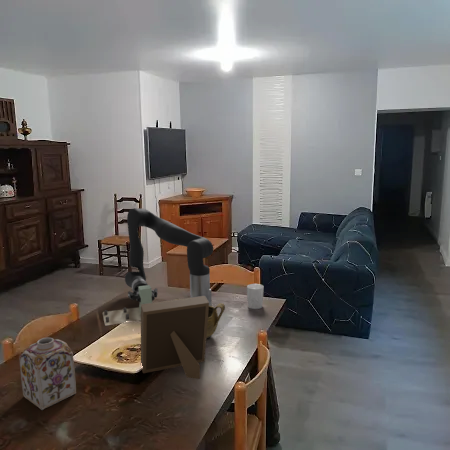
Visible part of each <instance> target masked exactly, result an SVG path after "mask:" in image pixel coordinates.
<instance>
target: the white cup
mask: <svg viewBox="0 0 450 450" xmlns="http://www.w3.org/2000/svg"><path fill="white" fill-rule="evenodd" d="M246 295H247V296H246V297H247V299H246V300H247V307H248V308H249V309H253V310H258V309H262V308H263V301H264V285H263V284H259V283H251V284H248V285H246Z"/></svg>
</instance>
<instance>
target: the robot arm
mask: <svg viewBox="0 0 450 450" xmlns="http://www.w3.org/2000/svg"><path fill="white" fill-rule="evenodd" d="M126 217H127V218H126V220H127V221H126V222H127V230H128V240H129V241H128V242H129V259H128V260H129V262H128V264H129V266H130V267H132V268H136V269H138V271H128V272H127V273H125V275H124V282H125V285H127V286H128V287H129V288H131V290H132V291H128V292H127V297H128V298H129V299H130V300H132V301H135V300H136V301H137V302H138V303H139V302H141V298H140V296H139V287H138V286H146V285H149V284H148V282H147V276H146V272H145V269H144V268H145V267H144V258H145V255H144V254H145V253H144V251H145V250H144V247H143V244H142V241H141V239H140V237H139V227H143V228H148V229H151V230H153V231H154V232H155V234H156V236H157V237H158V238H159V239H161V240H162V241H164V242H166V243H168V244H171V245H175V246H176V245H177V246H183V247H186V257H187V268H188V270H189V293H190V294H189V295H190V297H189V298H192V297H199V296H205V297H206V298H207V300H208V302H209V306H212V304H213V303H212V302H213V301H212V289H211V282H210V281H211V276H210V275H211V274H210V270H211V269H210V267H209V266H208V265H206V264H204V259H206V258H208V257H210V256H211V255H212V254H213V253H214V245H213V242H211V240H210V239H208V238H206V237H204V236H200V235H197V234H195V233H192V232H190V231H188V230H186V229H184V228H182V227H180V226H178V225H177V224H174V223H173V222H170V221H168V220H166V219H164V218H161V217H159V216H157V215H155V214H154V213H153V212H152V211H150V210H149V209H147V208H140V207H139V208H137V207H136V208H130V209H129V211H128V213H127V216H126ZM155 298H156V299H157V298H158V288H157V287H156V288H154V289H152V302H153V301H155ZM212 307H213V306H212Z"/></svg>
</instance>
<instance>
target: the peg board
mask: <svg viewBox="0 0 450 450" xmlns="http://www.w3.org/2000/svg"><path fill="white" fill-rule="evenodd" d="M102 317H103V321H104V326H112V325H120V324H125V323H124V322H126V321H135V322H141V313H140V308H139V306H138V307H131V308H127V307H126V306H125V307H123V308H122V309H117V310H109V311H108V310H107V309H104V310H103V311H102Z"/></svg>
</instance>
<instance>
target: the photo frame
mask: <svg viewBox="0 0 450 450" xmlns="http://www.w3.org/2000/svg"><path fill="white" fill-rule="evenodd" d="M176 299H177V298H176ZM208 311H209V302H208V300H207V298H206V297H205V296H199V297H192V298H190V297H185V298H178V299H177V300H175V299H171V300H165V301H157V302H156V301H155V302H152V303H148V304H141V321H140V364H141V363H142V366H143V369H142V368H141V371H142V374H146V373H147V374H149V373H153V372H156V371H162V370H167V369H173V368H174V369H175V368H179V367H182V369H183V372H184V374H185V377H186V379H197V380H200V378H201V365H200V363H203V362H206V361H205V359H206V348H207V339H206V336H207V323H208Z"/></svg>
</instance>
